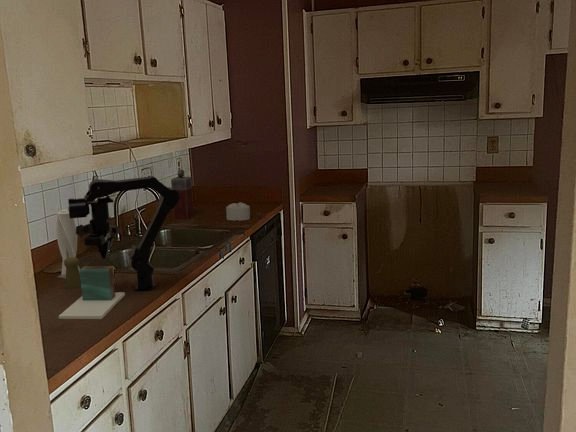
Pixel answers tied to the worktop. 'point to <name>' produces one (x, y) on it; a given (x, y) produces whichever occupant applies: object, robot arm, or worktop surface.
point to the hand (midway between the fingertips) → (104, 258)
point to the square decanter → (183, 196)
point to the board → (91, 308)
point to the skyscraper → (66, 237)
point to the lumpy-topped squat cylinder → (238, 211)
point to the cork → (72, 273)
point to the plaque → (97, 283)
